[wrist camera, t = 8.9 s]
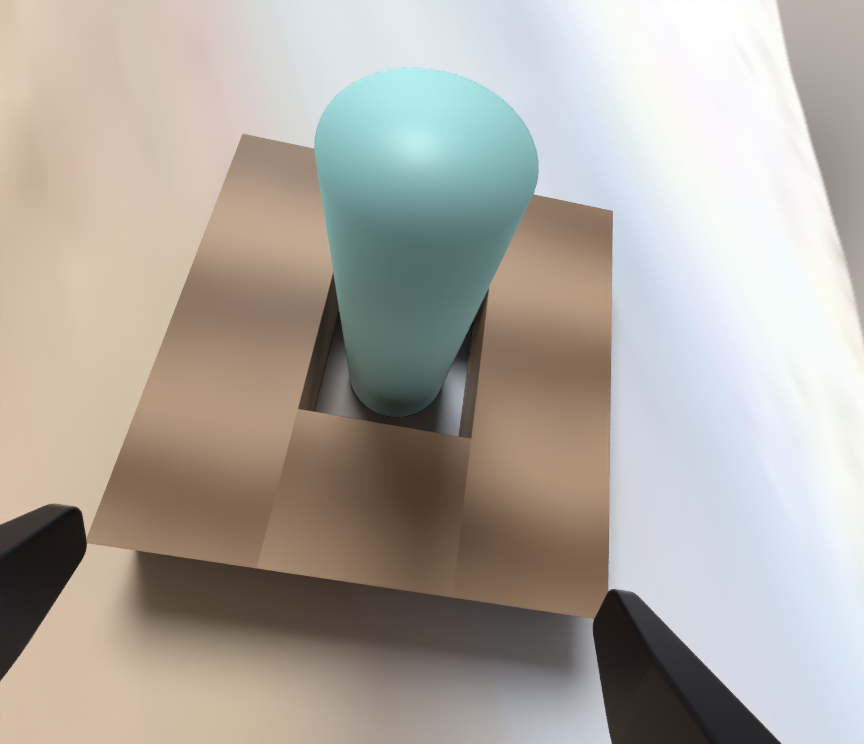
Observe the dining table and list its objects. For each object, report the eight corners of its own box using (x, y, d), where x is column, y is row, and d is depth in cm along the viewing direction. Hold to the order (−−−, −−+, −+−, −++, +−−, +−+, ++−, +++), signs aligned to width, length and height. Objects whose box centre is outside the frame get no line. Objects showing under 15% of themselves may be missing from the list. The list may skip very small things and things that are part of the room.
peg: (443, 418, 19) (547, 255, 8) (346, 415, 18) (303, 236, 7) (443, 331, 20) (531, 81, 9) (352, 325, 20) (324, 55, 8)
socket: (569, 605, 17) (608, 620, 14) (135, 540, 16) (85, 542, 13) (582, 250, 22) (612, 211, 20) (260, 185, 21) (242, 134, 19)
